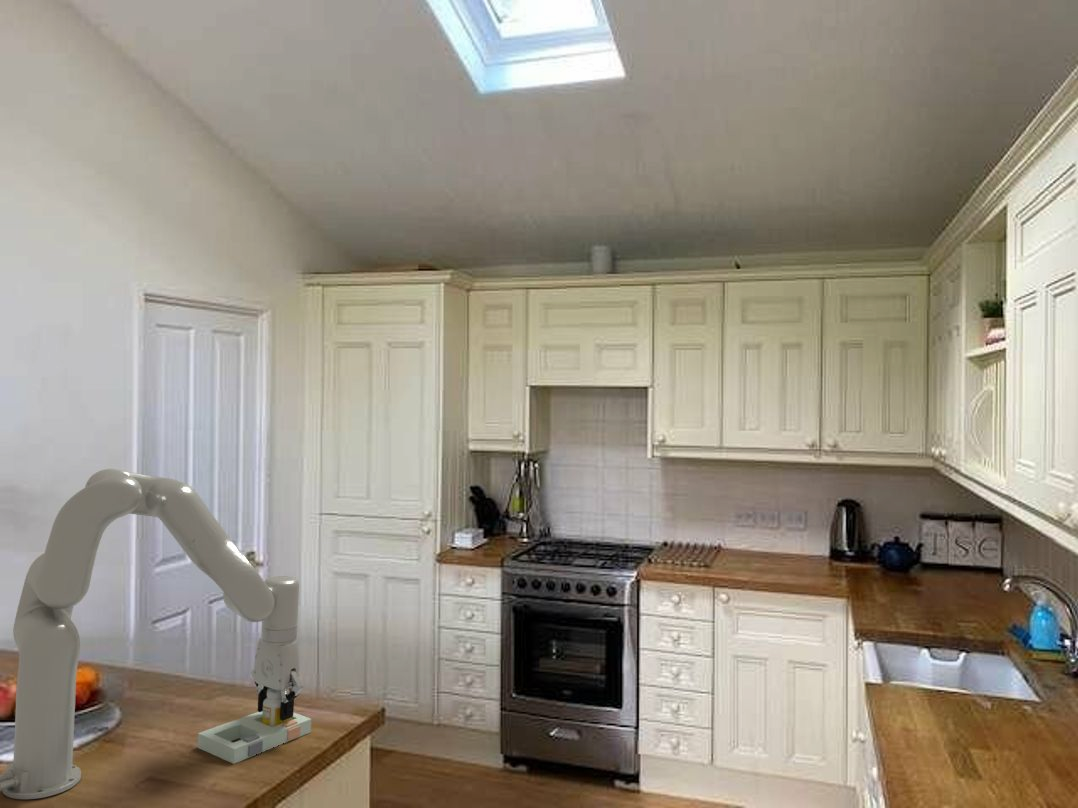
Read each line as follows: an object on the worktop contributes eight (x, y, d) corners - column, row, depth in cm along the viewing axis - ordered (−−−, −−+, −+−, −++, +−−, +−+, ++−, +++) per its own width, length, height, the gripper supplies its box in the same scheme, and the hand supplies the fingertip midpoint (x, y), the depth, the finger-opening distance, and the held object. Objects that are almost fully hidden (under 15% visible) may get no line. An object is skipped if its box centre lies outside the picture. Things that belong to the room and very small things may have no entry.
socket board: (235, 764, 164) (235, 747, 164) (197, 747, 171) (198, 731, 171) (311, 732, 181) (312, 717, 181) (274, 718, 188) (275, 703, 188)
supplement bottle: (258, 737, 177) (260, 693, 177) (264, 727, 182) (266, 684, 182) (284, 737, 178) (286, 694, 177) (289, 727, 183) (291, 685, 183)
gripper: (239, 629, 181) (235, 709, 182) (292, 645, 172) (288, 730, 172) (267, 622, 188) (263, 699, 188) (319, 638, 178) (315, 719, 179)
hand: (275, 713), depth 180 cm, fingers open, 6 cm apart
